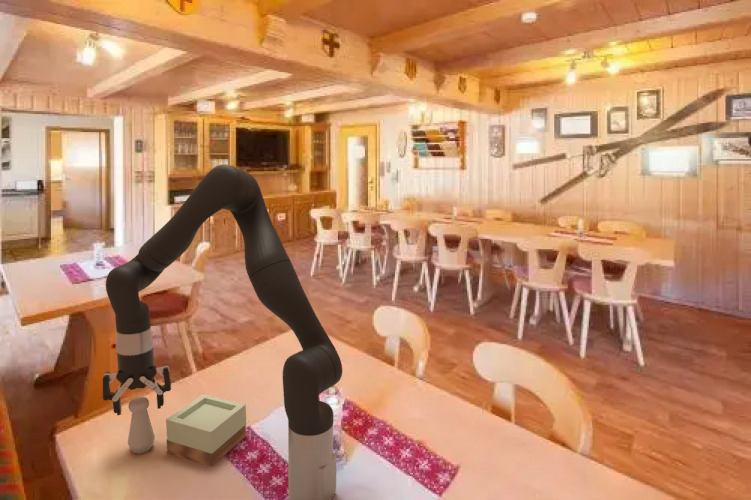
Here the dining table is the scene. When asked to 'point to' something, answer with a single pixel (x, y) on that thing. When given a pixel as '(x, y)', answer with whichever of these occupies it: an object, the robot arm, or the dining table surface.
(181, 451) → the base block
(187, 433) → the top block
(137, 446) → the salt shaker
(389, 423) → the dining table surface
